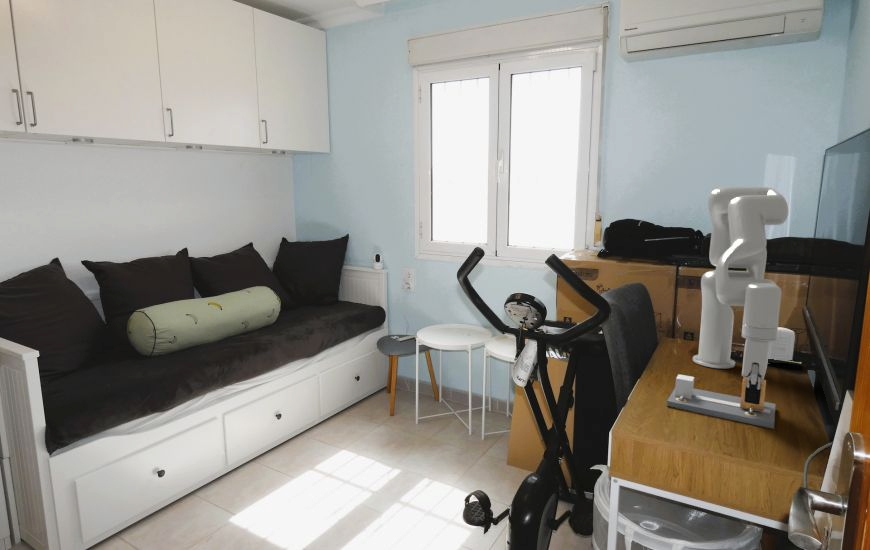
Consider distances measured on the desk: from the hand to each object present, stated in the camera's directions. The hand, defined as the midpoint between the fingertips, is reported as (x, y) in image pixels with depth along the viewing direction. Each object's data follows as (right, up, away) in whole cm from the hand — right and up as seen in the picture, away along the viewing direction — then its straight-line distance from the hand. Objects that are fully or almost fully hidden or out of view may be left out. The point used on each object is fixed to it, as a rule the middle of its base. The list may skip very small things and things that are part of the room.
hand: (752, 396), depth 132 cm
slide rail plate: (-6, -4, +5) cm, 8 cm away
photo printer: (+33, +1, +42) cm, 53 cm away
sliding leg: (-1, -3, -1) cm, 3 cm away
